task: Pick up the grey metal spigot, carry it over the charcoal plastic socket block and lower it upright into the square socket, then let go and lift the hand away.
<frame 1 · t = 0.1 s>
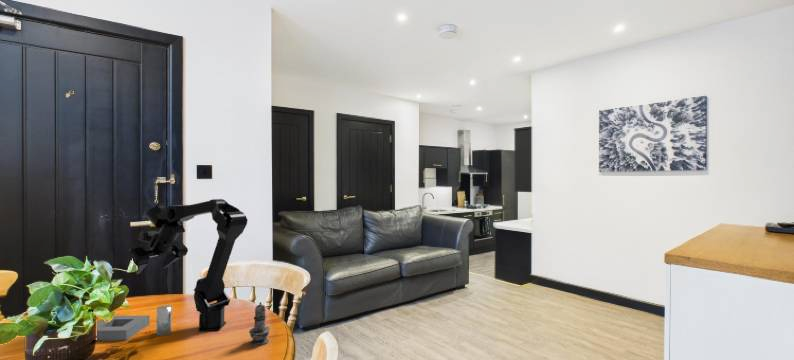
hand: (150, 270, 131), 15 cm above the table, tool tilted 35°, fingers open, 9 cm apart
socket block: (117, 332, 113), on the table
spigot: (163, 333, 114), on the table
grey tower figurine: (259, 342, 109), on the table
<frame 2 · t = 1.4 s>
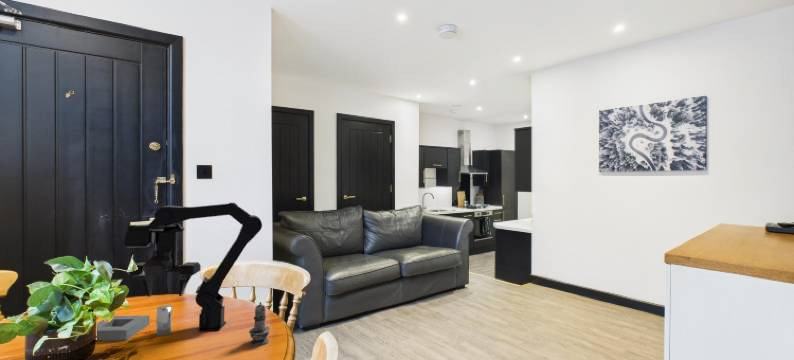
hand: (165, 296, 114), 11 cm above the table, tool pointing down, fingers open, 9 cm apart
nothing on the table moved.
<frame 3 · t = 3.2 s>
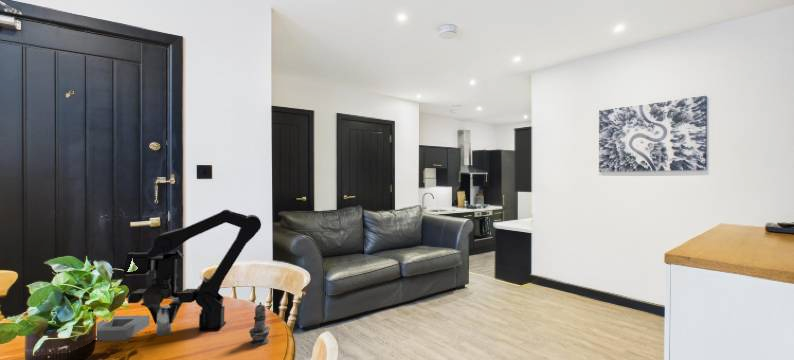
hand: (164, 323, 114), 3 cm above the table, tool pointing down, fingers closed on spigot, 4 cm apart
spigot: (163, 333, 114), on the table, touching gripper
everything else where it was.
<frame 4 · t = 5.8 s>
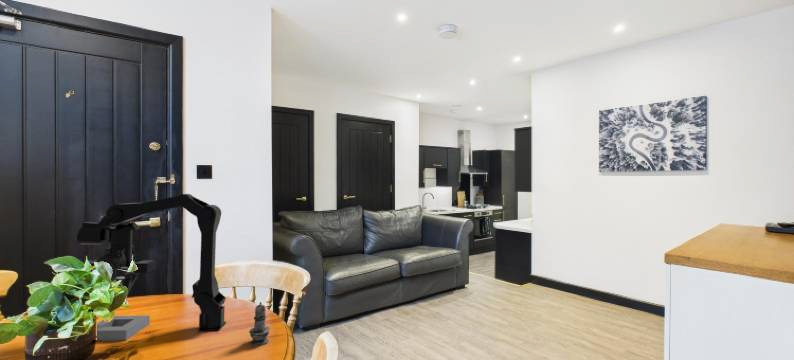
hand: (119, 294, 113), 12 cm above the table, tool pointing down, fingers closed on spigot, 4 cm apart
spigot: (118, 304, 113), point 9 cm above the table, touching gripper
everything else where it was.
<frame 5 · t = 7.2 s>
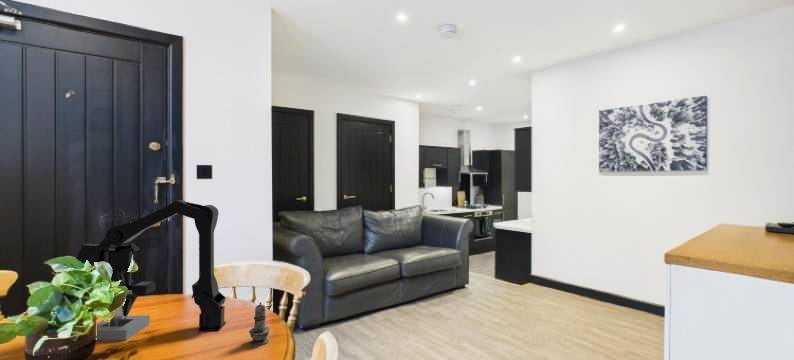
hand: (118, 316, 113), 5 cm above the table, tool pointing down, fingers closed on spigot, 4 cm apart
spigot: (118, 325, 113), point 2 cm above the table, touching gripper
everything else where it was.
when the fingers open (4 cm above the table, at t = 8.4 s): spigot drops 2 cm, resting in socket block.
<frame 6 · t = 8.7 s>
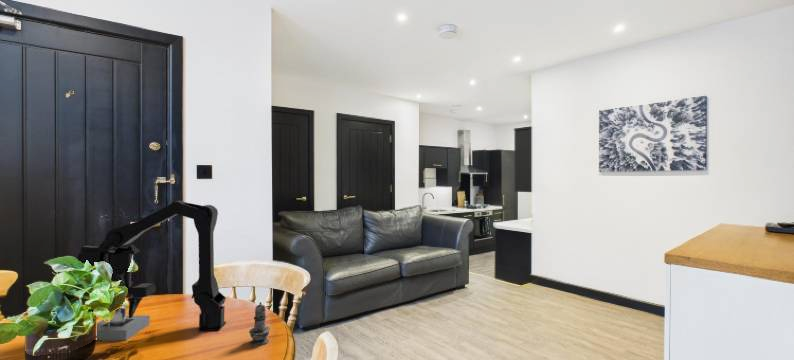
hand: (118, 317, 113), 4 cm above the table, tool pointing down, fingers open, 7 cm apart
spigot: (117, 332, 113), resting in socket block
everything else where it was.
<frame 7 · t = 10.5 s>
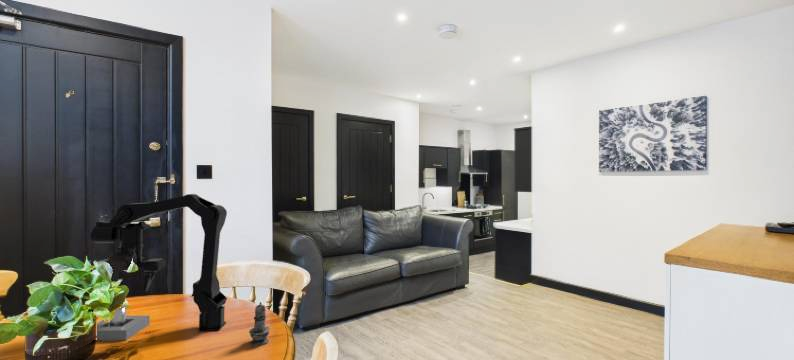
hand: (130, 291, 116), 12 cm above the table, tool pointing down, fingers open, 9 cm apart
nothing on the table moved.
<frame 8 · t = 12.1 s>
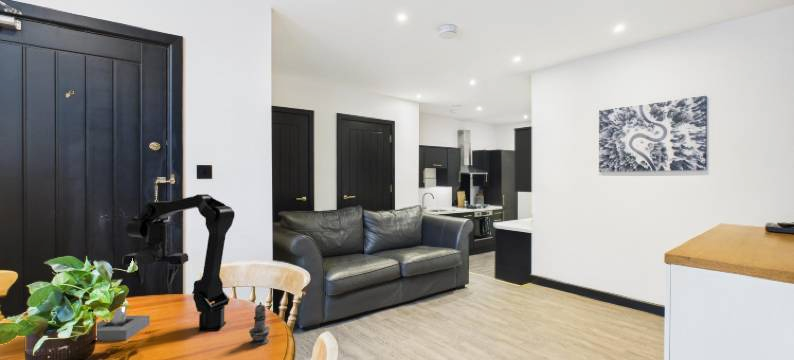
hand: (155, 283, 125), 12 cm above the table, tool pointing down, fingers open, 9 cm apart
nothing on the table moved.
at the end: spigot 0.0 cm off-centre on the socket block, point 0.0 cm above the socket block's base; spigot tilted 0°; the gripper is holding nothing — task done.
